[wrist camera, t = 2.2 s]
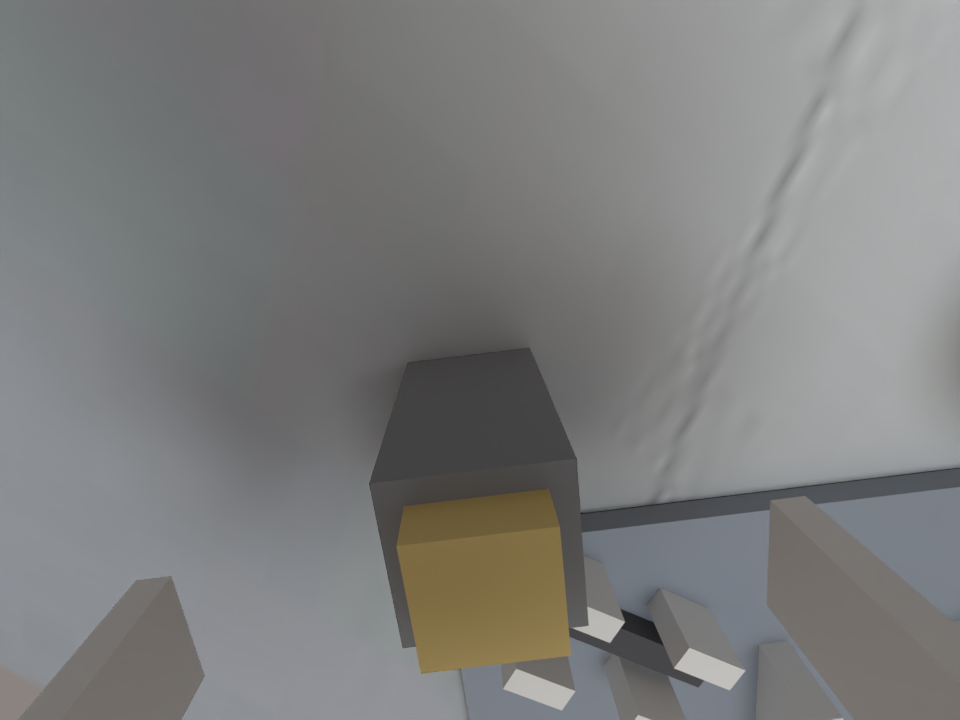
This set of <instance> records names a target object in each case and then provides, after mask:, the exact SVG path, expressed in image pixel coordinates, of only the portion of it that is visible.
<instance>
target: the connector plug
mask: <svg viewBox="0 0 960 720" xmlns="http://www.w3.org/2000/svg"><path fill="white" fill-rule="evenodd" d="M369 486H370V491H371V495H372V500H373V505H374V510H375V515H376V520H377V525H378V530H379V535H380V539H381V544H382V549H383V554H384V559H385V564H386V569H387V574H388V579H389V583H390V588H391V593H392V598H393V603H394V608H395V613H396V618H397V623H398V627H399V632H400V637H401V642H402V647H403V648H408V647H416V649H417V655H418V660H419V665H420V670H421V673H430V672H438V671H447V670H455V669H463V668H472V667H480V666H489V665H497V664H505V663H514V662H522V661H531V660H539V659H547V658H556V657H564V656H571V649H570V637H569V628H575V627H584V626H589V623H588V609H587V595H586V582H585V568H584V554H583V540H582V527H581V513H580V499H579V485H578V472H577V458H576V456H575V454H574V451H573V449H572V447H571V444H570V442H569V440H568V437H567V435H566V433H565V430H564V428H563V425H562V423H561V421H560V418H559V416H558V414H557V411H556V409H555V407H554V404H553V402H552V400H551V397H550V395H549V392H548V390H547V388H546V385H545V383H544V381H543V378H542V376H541V374H540V371H539V369H538V367H537V364H536V362H535V360H534V357H533V355H532V352H531V350H530V348H524V349H516V350H508V351H500V352H491V353H483V354H475V355H467V356H459V357H451V358H443V359H435V360H426V361H418V362H410V363H408V364H407V367H406V370H405V373H404V376H403V379H402V382H401V385H400V389H399V392H398V395H397V398H396V401H395V404H394V407H393V411H392V414H391V417H390V420H389V423H388V426H387V429H386V432H385V436H384V439H383V442H382V445H381V448H380V451H379V454H378V458H377V461H376V464H375V467H374V470H373V473H372V476H371V479H370V483H369Z"/></svg>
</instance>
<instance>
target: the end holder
mask: <svg viewBox="0 0 960 720" xmlns="http://www.w3.org/2000/svg"><path fill="white" fill-rule="evenodd" d="M953 622H954V623H955V624H956V625H957V626H958V627H960V620H957V621H953ZM756 720H843V717H842V715H841V714H840V713H839V711H838V710H837V708H836V707H835V706H834V704H833V703H832V702H831V700H830V699H829V697H828V696H827V695H826V693H825V692H824V690H823V689H822V688H821V686H820V685H819V684H818V682H817V681H816V679H815V678H814V677H813V675H812V674H811V672H810V671H809V670H808V668H807V667H806V666H805V664H804V663H803V661H802V660H801V659H800V657H799V656H798V654H797V653H796V652H795V650H794V649H793V648H792V646H791V645H790V643H789V642H788V641H781V642H772V643H764V644H759V657H758V679H757V700H756Z"/></svg>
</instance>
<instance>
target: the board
mask: <svg viewBox="0 0 960 720" xmlns="http://www.w3.org/2000/svg"><path fill="white" fill-rule="evenodd" d="M801 496H806V497H807V498H808V499H810V500H811V501H812V502H813V503H814V504H815V505H817V506H818V507H819V508H820V509H821V510H822V511H824V512H825V513H826V514H827V515H828V516H829V517H831V518H832V519H833V520H834V521H835V522H836V523H838V524H839V525H840V526H841V527H842V528H844V529H845V530H846V531H847V532H848V533H849V534H851V535H852V536H853V537H854V538H855V539H856V540H858V541H859V542H860V543H861V544H862V545H863V546H865V547H866V548H867V549H868V550H869V551H871V552H872V553H873V554H874V555H875V556H876V557H878V558H879V559H880V560H881V561H882V562H883V563H885V564H886V565H887V566H888V567H889V568H890V569H892V570H893V571H894V572H895V573H896V574H897V575H899V576H900V577H901V578H902V579H903V580H905V581H906V582H907V583H908V584H909V585H910V586H912V587H913V588H914V589H915V590H916V591H917V592H919V593H920V594H921V595H922V596H923V597H924V598H926V599H927V600H928V601H929V602H930V603H932V604H933V605H934V606H935V607H936V608H937V609H939V610H940V611H941V612H942V613H943V614H944V615H946V616H947V617H948V618H949V619H950V620H951V621H957V620H960V468H958V469H950V470H942V471H933V472H925V473H917V474H909V475H900V476H892V477H884V478H875V479H867V480H859V481H851V482H842V483H834V484H826V485H818V486H809V487H801V488H793V489H785V490H776V491H768V492H760V493H752V494H743V495H735V496H727V497H719V498H710V499H702V500H694V501H685V502H677V503H669V504H661V505H652V506H644V507H636V508H628V509H619V510H611V511H603V512H595V513H586V514H581V527H582V540H583V554H584V568H585V582H586V595H587V609H588V623H589V626H584V627H575V628H573V629H576V630H578V631H581V632H583V633H586V634H588V635H591V636H593V637H596V638H598V639H601V640H603V641H606V642H609V643H610V642H611V641H612V640H613V638H614V637H615V635H616V634H617V633H618V631H619V630H620V628H621V627H622V626H623V624H624V623H625V620H624V618H623V615H622V612H621V610H620V609H622V610H625V611H627V612H630V613H632V614H635V615H637V616H639V617H642V618H644V619H647V620H649V621H652V622H654V624H655V626H656V629H657V631H658V633H659V636H660V638H661V640H662V642H663V645H664V647H665V649H666V651H667V654H668V656H669V658H670V660H671V663H672V665H673V667H674V669H677V670H679V671H682V672H685V673H687V674H690V675H692V676H695V677H697V678H700V679H702V680H704V681H703V683H702V684H701V685H700V687H699V688H698V687H695V686H693V685H690V684H688V683H685V682H683V681H680V680H678V679H675V678H672V677H670V676H667V675H665V674H662V673H660V672H657V671H655V670H652V669H650V668H647V667H645V666H642V665H640V664H637V663H634V662H632V661H629V660H627V659H624V658H622V657H619V656H617V655H614V654H612V653H609V652H607V651H604V650H601V649H599V648H596V647H594V646H591V645H589V644H586V643H584V642H581V641H579V640H576V639H574V638H571V637H570V649H571V656H564V657H556V658H547V659H539V660H531V661H522V662H514V663H505V664H497V665H489V666H480V667H472V668H463V669H461V674H462V680H463V686H464V692H465V698H466V704H467V710H468V716H469V720H756V700H757V679H758V657H759V644H764V643H772V642H781V641H788V642H789V643H790V645H791V646H792V648H793V649H794V650H795V652H796V653H797V654H798V656H799V657H800V659H801V660H802V661H803V663H804V664H805V666H806V667H807V668H808V670H809V671H810V672H811V674H812V675H813V677H814V678H815V679H816V681H817V682H818V684H819V685H820V686H821V688H822V689H823V690H824V692H825V693H826V695H827V696H828V697H829V699H830V700H831V702H832V703H833V704H834V706H835V707H836V708H837V710H838V711H839V713H840V714H841V715H842V717H843V720H854V719H853V718H852V716H851V715H850V714H849V712H848V711H847V710H846V708H845V707H844V706H843V704H842V703H841V702H840V701H839V699H838V698H837V697H836V695H835V694H834V693H833V691H832V690H831V689H830V687H829V686H828V685H827V683H826V682H825V681H824V680H823V678H822V677H821V676H820V674H819V673H818V672H817V670H816V669H815V668H814V666H813V665H812V664H811V662H810V661H809V660H808V658H807V657H806V656H805V655H804V653H803V652H802V651H801V649H800V648H799V647H798V645H797V644H796V643H795V641H794V640H793V639H792V637H791V636H790V635H789V634H788V632H787V631H786V630H785V628H784V627H783V626H782V624H781V623H780V622H779V620H778V619H777V618H776V616H775V615H774V614H773V613H772V611H771V610H770V609H769V607H768V606H767V605H766V602H767V576H768V550H769V524H770V500H777V499H785V498H793V497H801Z"/></svg>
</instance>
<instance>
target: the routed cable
mask: <svg viewBox="0 0 960 720" xmlns="http://www.w3.org/2000/svg"><path fill="white" fill-rule="evenodd" d="M620 610H621V612H622V615H623V618H624V620H625V623H624V624H623V626H622V627H621V628H620V630H619V631H618V633H617V634H616V635H615V637H614V638H613V640H612V641H611V642H610V643H609V642H606V641H603V640H601V639H598V638H596V637H593V636H591V635H588V634H586V633H583V632H581V631H578V630H576V629H573V628H569V637H571V638H574V639H576V640H579V641H581V642H584V643H586V644H589V645H591V646H594V647H596V648H599V649H601V650H604V651H607V652H609V653H612V654H614V655H617V656H619V657H622V658H624V659H627V660H629V661H632V662H634V663H637V664H640V665H642V666H645V667H647V668H650V669H652V670H655V671H657V672H660V673H662V674H665V675H667V676H670V677H672V678H675V679H678V680H680V681H683V682H685V683H688V684H690V685H693V686H695V687H698V688H699V687H700V685H701V684H702V683H703V681H704V680H702V679H700V678H697V677H695V676H692V675H690V674H687V673H685V672H682V671H679V670H677V669H674V667H673V665H672V663H671V660H670V658H669V656H668V654H667V651H666V649H665V647H664V645H663V642H662V640H661V638H660V636H659V633H658V631H657V629H656V626H655V624H654V622H652V621H649V620H647V619H644V618H642V617H639V616H637V615H635V614H632V613H630V612H627V611H625V610H622V609H620Z"/></svg>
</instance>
